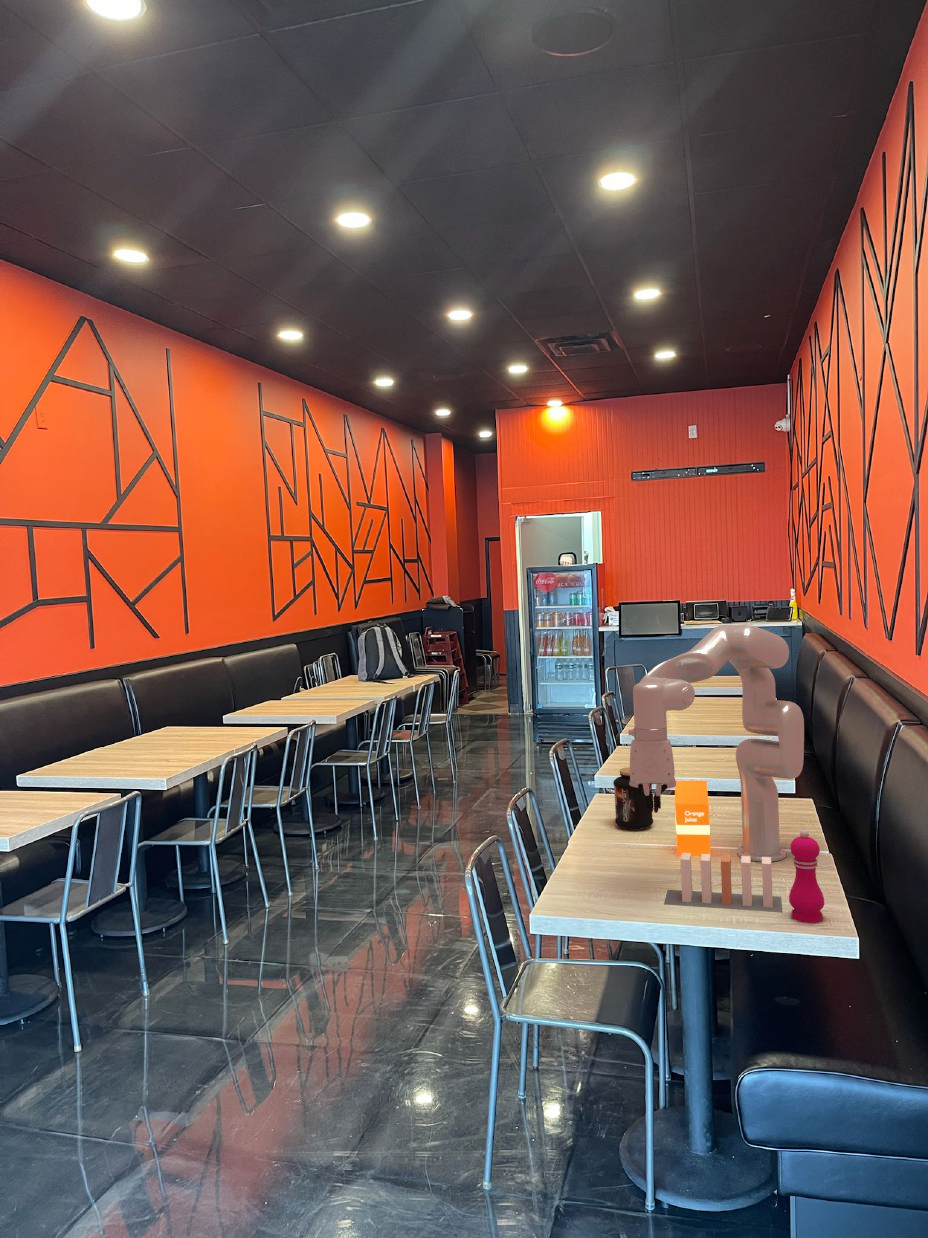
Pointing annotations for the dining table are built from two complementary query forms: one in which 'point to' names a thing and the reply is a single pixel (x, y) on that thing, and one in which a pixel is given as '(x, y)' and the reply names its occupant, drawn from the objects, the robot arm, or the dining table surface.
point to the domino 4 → (746, 880)
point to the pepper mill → (806, 880)
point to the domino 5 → (767, 882)
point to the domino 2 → (706, 878)
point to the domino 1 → (686, 877)
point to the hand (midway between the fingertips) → (653, 811)
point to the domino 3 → (726, 879)
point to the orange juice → (692, 818)
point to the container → (630, 804)
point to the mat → (737, 901)
